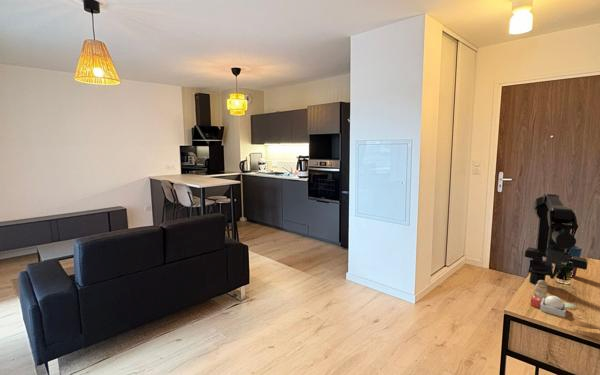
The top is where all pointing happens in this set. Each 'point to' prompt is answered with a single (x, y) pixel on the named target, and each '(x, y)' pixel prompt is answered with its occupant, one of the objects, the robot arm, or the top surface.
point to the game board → (556, 311)
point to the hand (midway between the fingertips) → (551, 278)
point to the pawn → (541, 289)
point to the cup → (575, 252)
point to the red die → (535, 301)
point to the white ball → (554, 302)
